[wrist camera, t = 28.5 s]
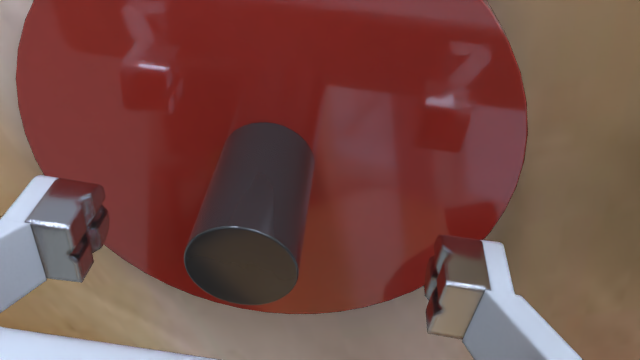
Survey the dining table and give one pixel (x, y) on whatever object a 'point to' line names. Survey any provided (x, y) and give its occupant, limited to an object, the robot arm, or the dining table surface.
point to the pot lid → (278, 137)
